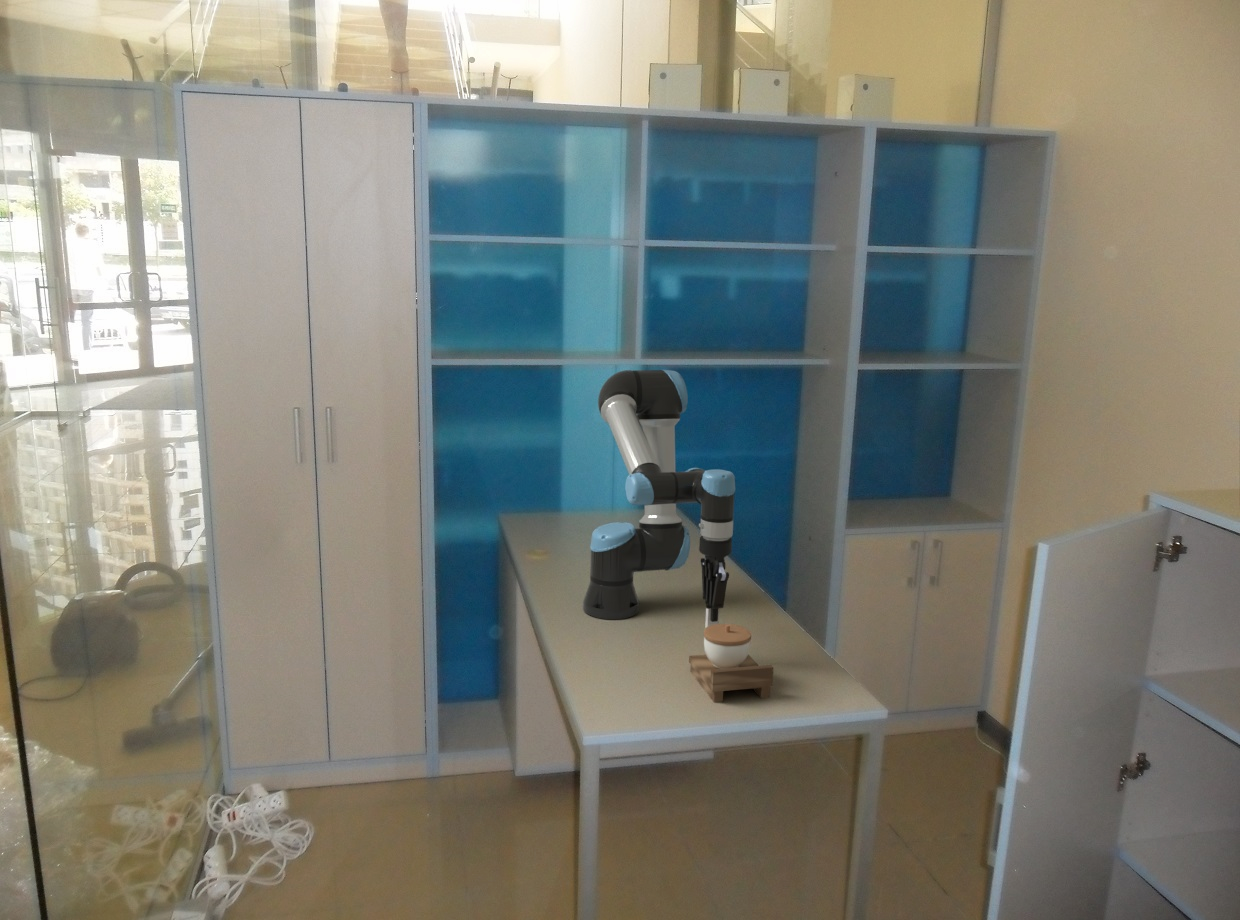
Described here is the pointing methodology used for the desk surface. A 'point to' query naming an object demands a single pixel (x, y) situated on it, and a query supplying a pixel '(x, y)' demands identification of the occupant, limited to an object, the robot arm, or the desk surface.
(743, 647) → the lidded jar
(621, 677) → the desk surface
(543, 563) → the desk surface
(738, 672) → the wooden stand
